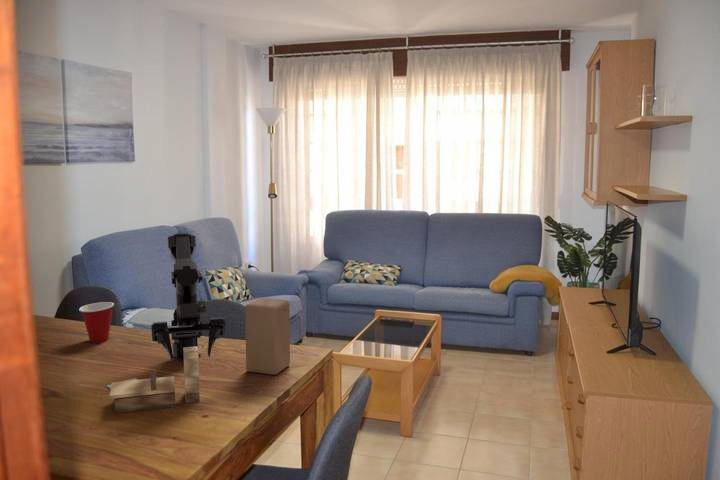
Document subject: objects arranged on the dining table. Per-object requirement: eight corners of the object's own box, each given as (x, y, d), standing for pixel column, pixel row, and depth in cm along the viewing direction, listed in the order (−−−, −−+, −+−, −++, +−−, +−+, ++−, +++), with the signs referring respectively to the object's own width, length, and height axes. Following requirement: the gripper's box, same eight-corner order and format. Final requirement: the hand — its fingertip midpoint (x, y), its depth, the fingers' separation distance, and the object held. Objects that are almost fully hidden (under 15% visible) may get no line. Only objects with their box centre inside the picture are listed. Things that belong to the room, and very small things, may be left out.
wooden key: (198, 394, 160) (197, 346, 158) (199, 399, 156) (198, 350, 154) (184, 395, 158) (183, 347, 157) (185, 401, 155) (183, 351, 153)
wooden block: (291, 365, 182) (290, 299, 179) (276, 376, 173) (275, 307, 170) (261, 361, 185) (260, 296, 182) (244, 372, 176) (243, 304, 173)
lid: (174, 379, 160) (173, 367, 159) (174, 391, 151) (174, 379, 151) (112, 385, 155) (111, 373, 155) (109, 398, 147) (109, 386, 146)
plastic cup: (84, 336, 208) (82, 302, 207) (117, 334, 211) (116, 300, 209) (77, 346, 198) (75, 310, 196) (113, 343, 200) (111, 308, 199)
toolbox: (197, 390, 162) (197, 377, 161) (199, 403, 154) (199, 390, 153) (117, 399, 156) (116, 386, 155) (114, 413, 147) (114, 399, 147)
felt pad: (135, 378, 170) (135, 377, 170) (148, 386, 164) (148, 385, 164) (106, 386, 164) (106, 385, 164) (119, 394, 159) (119, 393, 159)
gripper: (150, 292, 158) (151, 346, 149) (223, 288, 164) (229, 339, 155) (151, 314, 166) (153, 367, 157) (221, 309, 172) (226, 360, 163)
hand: (190, 358), depth 158 cm, fingers open, 9 cm apart
